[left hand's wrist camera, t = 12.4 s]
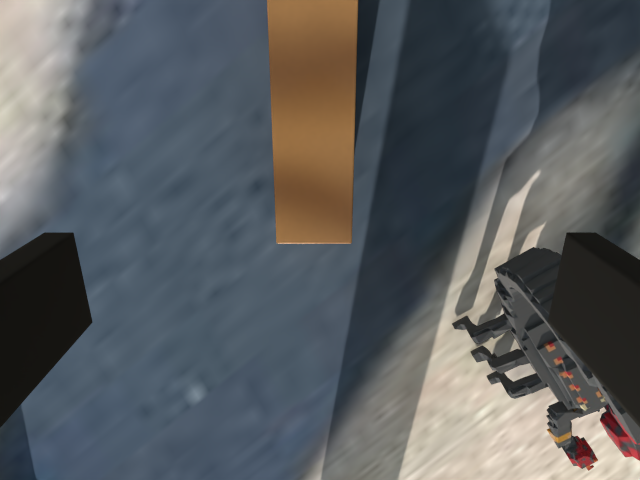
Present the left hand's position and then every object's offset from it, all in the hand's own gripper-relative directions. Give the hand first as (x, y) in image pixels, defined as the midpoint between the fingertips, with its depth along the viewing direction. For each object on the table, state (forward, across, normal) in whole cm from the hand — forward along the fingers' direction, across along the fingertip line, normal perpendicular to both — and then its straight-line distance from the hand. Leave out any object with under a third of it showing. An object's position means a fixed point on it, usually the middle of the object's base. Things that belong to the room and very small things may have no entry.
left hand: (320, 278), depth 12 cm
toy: (+23, -19, +16) cm, 34 cm away
